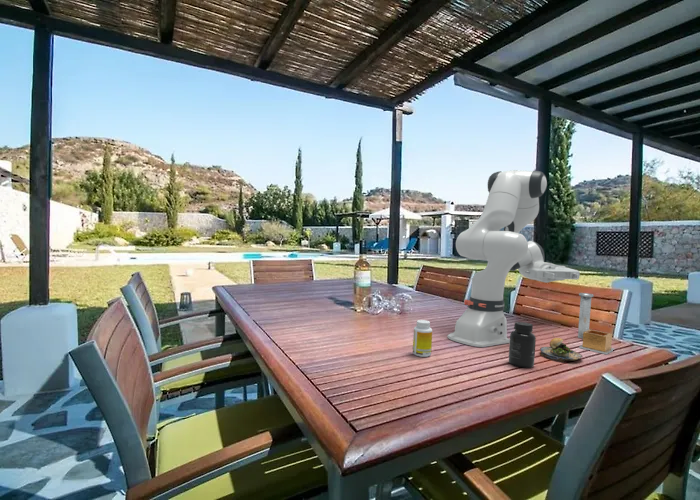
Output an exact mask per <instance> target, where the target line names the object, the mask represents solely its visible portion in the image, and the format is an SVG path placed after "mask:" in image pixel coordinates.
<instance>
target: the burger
mask: <svg viewBox="0 0 700 500" xmlns="http://www.w3.org/2000/svg"><path fill="white" fill-rule="evenodd" d="M552 336H553V337H554V338H552V339H551V340H550V341H549V346H541V347H540V348H539V350H540V352H539V355H540V356H541V357H543V358H545V359H547V360H549V361H555V362H559V363H564V362H565V361H577V360H580V359H582V358H583V357H584V356H583V355H582V353H579V352H577V351H575V350H573V349H570V348H569V346H567V344H565V343H564V339H563V338H561V337H555V336H554V334H552Z"/></svg>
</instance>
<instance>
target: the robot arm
mask: <svg viewBox="0 0 700 500" xmlns="http://www.w3.org/2000/svg"><path fill="white" fill-rule="evenodd" d="M547 186H548V182H547V176H546V174H545V173H544V172H542V171H539V170H532V171H531V170H518V169H517V170H516V169H514V170H513V169H512V170H507V171H496V172H493V173H492V174H491V175H490V176H489V177H488V180H487V191H488V193H489V194H488V196H487V200H486V202H485V205H484V208H483V211H482V213H481V215H480V216H479V218H478V219H477V220H476V221H475V222H474V224H472V225H471V226H470V227H469V228H468V229H465V230H463V231H462V232H460V233H459V235H458V236H457V238H456V240H455V249H456V251H457V253H458V255H460V257H463V258H467V259H470V260H476V261H477V260H478V261H480V260H481V261H487V265H486V267H485V268H484V269H482V270H480V271H477V272H476V273H475V274H474V275H473V276H472V278H471V292H470V297H469V299H464V300H463V301H464V302H463V305H465V306H467V308H466V310H465V311H464V312H463V313H462V314H461V315H460V316H459V317H458V319H457V320H456V321H455V326H454V331H453V332H450V333H449V334H447V337H446V338H447V339H449V340H450V341H453V342H456V343H460V344H463V345H467V346H470V347H471V346H472V347H476V348H485V347H486V348H487V347H492V346H497V345H504V344H505V345H506V344H510V338H508V331H507V330H508V324H507V323H508V322H507V318H506V315H505V314H504V310H505V300H504V291H505V285H506V284H505V283H506V278H507V276H508V274H509V272H510V271H511V272H515V271H516V270H518V272H519V274H521V276H523V277H524V278H526V279H529V280H534V281H536V282H537V281H538V282H542V283H545V284H546V283H551V282H557V281H565V280H574V281H575V280H579V279H580V276H581V275H580V274H581V273H580V271H579V270H577V269H573V268H569V267H566V266H565V265H562V264H561V265H560V264H554V263H552V262H546V261H545V251H544V249H543V247H542V245H540V244H539V243H537V242H536V241H533V240H529V241H527V240H528V239H526V237H525V235H524V234H522V233H520V232H521V231H522V230H523V229H524V228H525V227H526V226H528V225H529V224H531V223H532V222H533V221H534V220H535V219H536V218H537V217H538V214H539V212H540V197H542V196H543V195H544V194H545V192H546V190H547Z"/></svg>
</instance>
